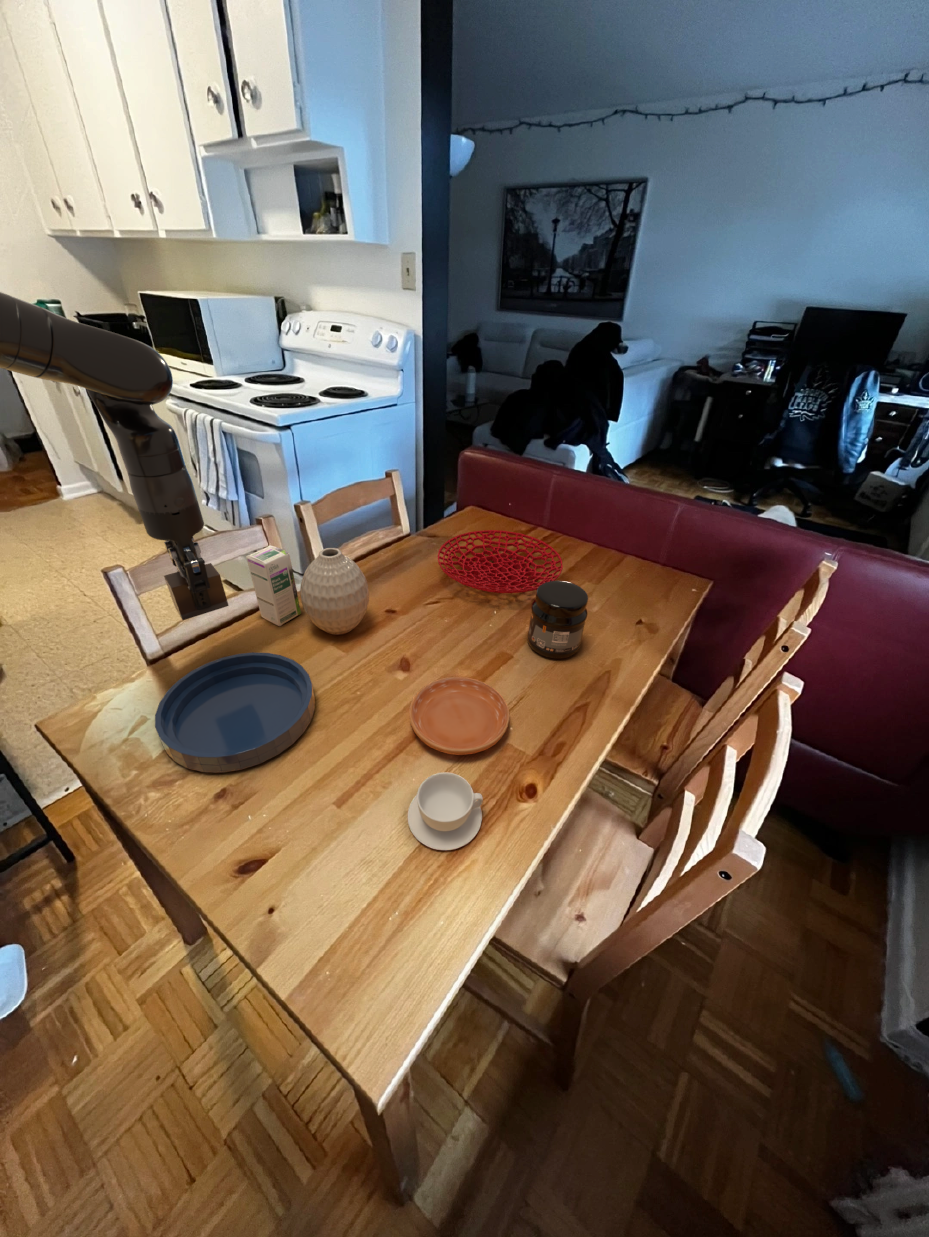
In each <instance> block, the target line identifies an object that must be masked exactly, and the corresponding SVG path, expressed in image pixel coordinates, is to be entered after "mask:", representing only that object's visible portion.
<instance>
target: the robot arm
mask: <svg viewBox="0 0 929 1237" xmlns="http://www.w3.org/2000/svg"><path fill="white" fill-rule="evenodd" d="M0 369H2V370H6V371H9V372H13V373H17V374H21V375H24V376H28V377H33V378H36V379H40V380H45V381H49V382H55V383H63V384H69V385H73V386H77V387H80V388H84V389H85V390H86V392H87V393H88V395H89V397H90V399H91V401H92V402H93V404H94V405H95V407H96V409H97V411H98V412H99V414H100V416H101V418H102V419H103V422H104V423H105V424H106V426H107V427H108V429H109V430H110V432H111V434H112V435H113V437H114V439H115V440H116V443H117V447H118V450H119V454H120V456H121V460H122V461H123V464H124V468H125V470H126V472H127V475H128V476H127V477H128V480H129V486H130V491H131V493H132V496H133V498H134V501H135V504H136V507H137V509H138V513H139V515H140V518H141V521H142V524H143V525H144V529H145V531H146V534H147V535H148V536H149V537H150V538H152V539H154V540H157V541H163V545H164V548H165V550H166V551H167V554H169V559H170V561H171V563H172V565H173V566H174V567H176V572H179V574H180V575H181V576H182V577H183V578H185V579H186V582H187V585H188V589H189V590H190V592H191V595H192V598H193V601H194V604H195V607H196V608H197V610H203V609H206V608H209V607H211V605H212V604H211V601H210V598H209V594H208V591H207V589H210V583H209V580H208V576H207V572H206V567H205V564H206V561H205V559H203V557H202V555H201V553H202V550H201V548H200V544H199V543H198V541H195V538H194V536H195V535H197V534H198V533H200V532H201V531H202V530H203V529H204V526H205V521H204V518H203V515H202V511H201V508H200V504H199V500H198V497H197V492H196V489H195V486H194V483H193V479H192V477H191V475H190V473H189V471H188V469H187V468H188V467H187V465H186V462H185V459H184V455H183V451H182V448H181V445H180V440H179V438H178V436H177V433H176V431H175V429H174V427H172V425H171V424H170V423H168V422H167V421H165V420H164V419H163V418H161V417H160V416H159V415H158V414H157V413H156V411H155V409H154V407H153V405H156V404H160V403H162V402H163V401H164V400H166V399H167V398H168V396H169V395H170V394H171V392H172V390H173V385H174V379H173V374H172V370H171V368H170V365H169V364H168V362H167V361H166V360H165V358H164V357H163V356H162V355H161V354H160V353H159V352H158V351H157V350H156V349H154V348H153V347H152V346H150V345H148V344H146V343H144V342H142V341H139V340H137V339H134V338H131V337H128V336H125V335H122V334H119V333H115V332H112V331H108V330H106V329H103V328H98V327H95V326H92V325H88V324H85V323H81V322H79V321H75V320H73V319H69V318H67V317H64V316H62V315H60V314H57V313H55V312H53V311H51V310H49V309H47V308H45V307H42V306H39V305H36V304H34V303H32V302H29V301H25V300H23V299H21V298H18V297H15V296H12V295H10V294H7V293H5V292H3V291H0ZM184 570H186V571H184Z"/></svg>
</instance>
